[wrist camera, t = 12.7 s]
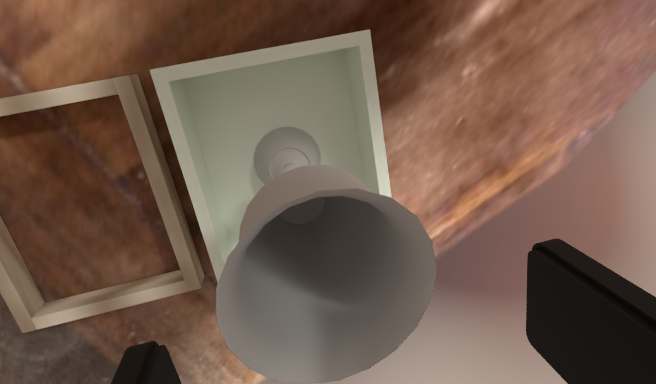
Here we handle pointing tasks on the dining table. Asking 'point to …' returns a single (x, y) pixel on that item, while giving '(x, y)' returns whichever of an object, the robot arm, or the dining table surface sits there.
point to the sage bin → (269, 122)
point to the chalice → (320, 269)
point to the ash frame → (13, 275)
